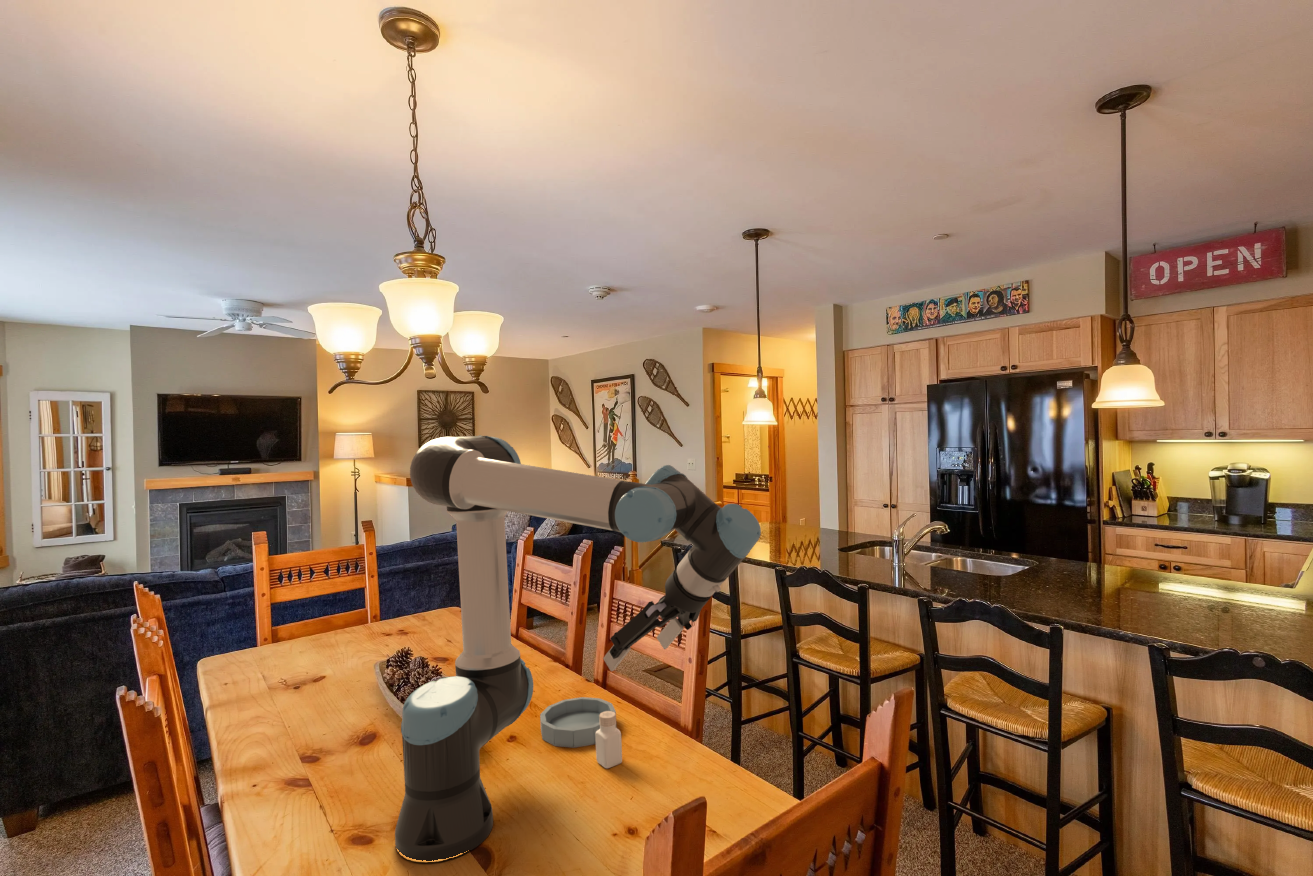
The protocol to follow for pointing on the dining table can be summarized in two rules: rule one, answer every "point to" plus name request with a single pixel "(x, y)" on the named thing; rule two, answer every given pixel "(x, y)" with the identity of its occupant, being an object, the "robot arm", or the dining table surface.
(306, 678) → the dining table surface
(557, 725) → the bowl
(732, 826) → the dining table surface
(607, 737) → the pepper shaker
